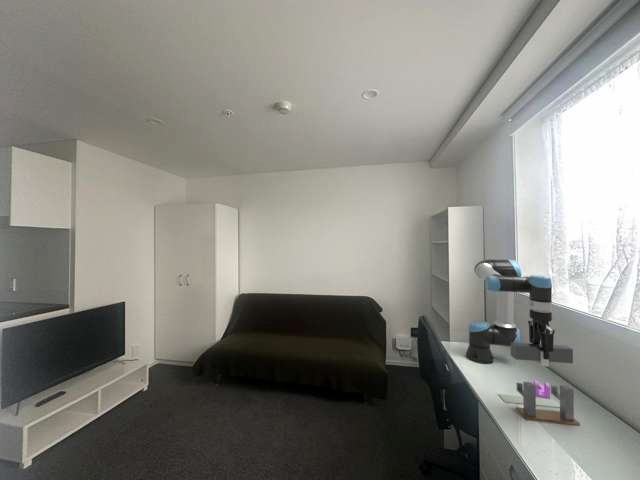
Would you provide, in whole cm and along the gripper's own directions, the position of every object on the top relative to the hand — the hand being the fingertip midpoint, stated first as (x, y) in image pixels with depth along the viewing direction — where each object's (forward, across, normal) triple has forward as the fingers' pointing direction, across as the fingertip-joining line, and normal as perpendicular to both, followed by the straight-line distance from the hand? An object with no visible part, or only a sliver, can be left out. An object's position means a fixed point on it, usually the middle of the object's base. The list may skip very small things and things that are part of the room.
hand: (540, 363), depth 114 cm
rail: (-2, 0, 0) cm, 2 cm away
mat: (+22, -8, 0) cm, 23 cm away
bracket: (+22, -18, +10) cm, 30 cm away
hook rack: (+21, +2, 0) cm, 22 cm away
